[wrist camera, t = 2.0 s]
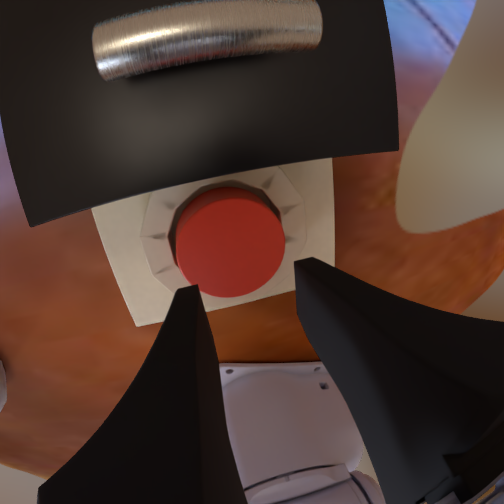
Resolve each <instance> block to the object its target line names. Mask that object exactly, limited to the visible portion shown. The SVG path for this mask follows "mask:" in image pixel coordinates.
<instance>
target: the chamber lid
mask: <svg viewBox="0 0 504 504" xmlns="http://www.w3.org/2000/svg"><path fill="white" fill-rule="evenodd" d="M0 116H1V122H2V128H3V133H4V138H5V143H6V147H7V152H8V156H9V160H10V164H11V168H12V172H13V176H14V179H15V183H16V186H17V189H18V193H19V196H20V199H21V202H22V205H23V208H24V211H25V214H26V217H27V220H28V223H29V226H30V227H34V226H37V225H40V224H43V223H46V222H49V221H52V220H55V219H58V218H61V217H64V216H67V215H70V214H74V213H77V212H80V211H83V210H87V209H90V208H93V207H97V206H100V205H104V204H107V203H111V202H114V201H118V200H122V199H125V198H129V197H133V196H137V195H141V194H145V193H149V192H153V191H157V190H161V189H165V188H169V187H173V186H178V185H182V184H186V183H191V182H195V181H200V180H205V179H209V178H214V177H219V176H224V175H229V174H234V173H239V172H245V171H250V170H256V169H261V168H267V167H273V166H279V165H285V164H292V163H298V162H305V161H312V160H319V159H327V158H334V157H343V156H351V155H360V154H370V153H380V152H391V151H398V150H399V129H398V108H397V93H396V82H395V72H394V63H393V55H392V47H391V40H390V34H389V28H388V22H387V17H386V11H385V6H384V1H383V0H0Z"/></svg>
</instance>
